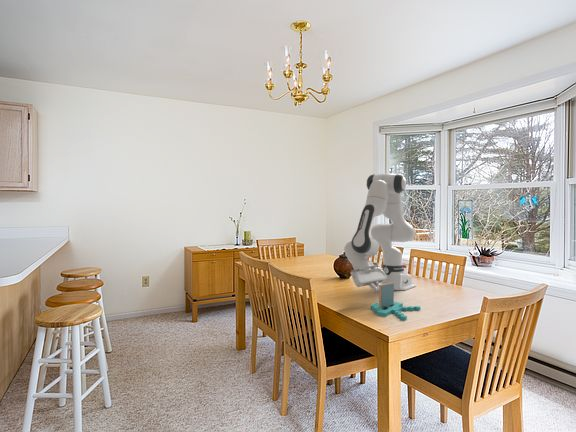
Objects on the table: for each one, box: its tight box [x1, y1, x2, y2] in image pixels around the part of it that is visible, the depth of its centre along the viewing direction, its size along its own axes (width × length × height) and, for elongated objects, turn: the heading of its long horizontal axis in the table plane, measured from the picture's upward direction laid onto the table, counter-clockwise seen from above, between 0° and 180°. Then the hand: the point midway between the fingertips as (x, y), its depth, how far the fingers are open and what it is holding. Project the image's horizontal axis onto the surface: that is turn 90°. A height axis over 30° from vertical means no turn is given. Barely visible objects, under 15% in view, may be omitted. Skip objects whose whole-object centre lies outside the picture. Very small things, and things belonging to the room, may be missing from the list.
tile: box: [378, 282, 395, 308], centre depth 175 cm, size 9×2×11 cm, turn 124°
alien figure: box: [370, 301, 421, 322], centre depth 173 cm, size 20×2×20 cm
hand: (377, 290), depth 180 cm, fingers closed
